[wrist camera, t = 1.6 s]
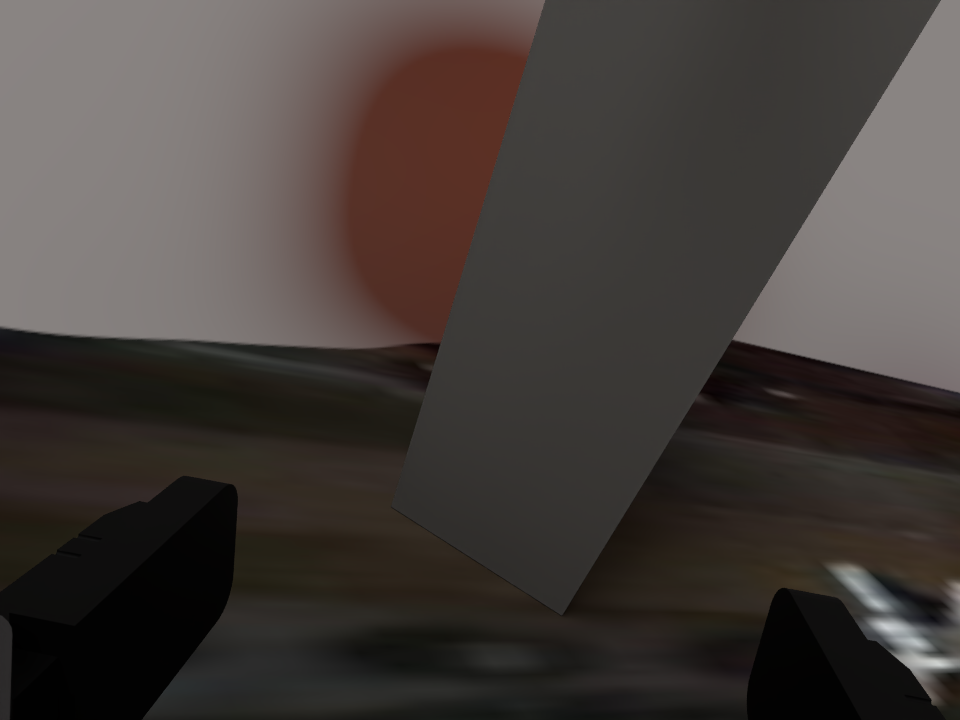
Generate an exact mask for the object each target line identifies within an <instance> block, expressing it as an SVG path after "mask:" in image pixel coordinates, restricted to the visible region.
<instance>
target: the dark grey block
mask: <svg viewBox="0 0 960 720" xmlns="http://www.w3.org/2000/svg"><path fill="white" fill-rule="evenodd" d="M940 1H941V0H545V3H544V7H543V10H542V13H541V17H540V20H539V23H538V26H537V29H536V33H535V36H534V39H533V43H532V46H531V49H530V52H529V56H528V59H527V62H526V66H525V69H524V72H523V76H522V79H521V82H520V86H519V89H518V92H517V95H516V98H515V102H514V105H513V108H512V112H511V115H510V118H509V121H508V125H507V128H506V131H505V135H504V138H503V141H502V144H501V148H500V151H499V154H498V158H497V161H496V164H495V167H494V171H493V174H492V178H491V181H490V184H489V187H488V191H487V194H486V197H485V200H484V204H483V207H482V210H481V213H480V217H479V220H478V223H477V226H476V230H475V233H474V236H473V240H472V243H471V246H470V249H469V253H468V256H467V259H466V262H465V266H464V269H463V273H462V276H461V279H460V282H459V285H458V289H457V292H456V295H455V299H454V302H453V305H452V308H451V312H450V315H449V318H448V322H447V325H446V328H445V332H444V335H443V338H442V341H441V345H440V348H439V351H438V354H437V358H436V361H435V364H434V367H433V371H432V374H431V377H430V381H429V384H428V387H427V390H426V394H425V397H424V400H423V404H422V407H421V410H420V413H419V417H418V420H417V423H416V427H415V430H414V433H413V436H412V440H411V443H410V446H409V450H408V453H407V456H406V459H405V463H404V466H403V469H402V472H401V476H400V479H399V482H398V486H397V489H396V492H395V495H394V499H393V502H392V505H391V507H392V508H394V509H395V510H397V511H399V512H400V513H402V514H403V515H405V516H406V517H408V518H409V519H411V520H413V521H414V522H416V523H417V524H419V525H420V526H422V527H424V528H425V529H427V530H428V531H430V532H431V533H433V534H435V535H436V536H438V537H439V538H441V539H442V540H444V541H446V542H447V543H449V544H450V545H452V546H453V547H455V548H456V549H458V550H460V551H461V552H463V553H464V554H466V555H467V556H469V557H471V558H472V559H474V560H475V561H477V562H478V563H480V564H482V565H483V566H485V567H486V568H488V569H489V570H491V571H493V572H494V573H496V574H497V575H499V576H500V577H502V578H503V579H505V580H507V581H508V582H510V583H511V584H513V585H514V586H516V587H518V588H519V589H521V590H522V591H524V592H525V593H527V594H529V595H530V596H532V597H533V598H535V599H536V600H538V601H540V602H541V603H543V604H544V605H546V606H547V607H549V608H551V609H552V610H554V611H555V612H557V613H558V614H560V615H561V616H562V615H563V613H564V612H565V610H566V608H567V607H568V605H569V603H570V602H571V600H572V599H573V597H574V595H575V594H576V592H577V590H578V589H579V587H580V586H581V584H582V582H583V581H584V579H585V577H586V576H587V574H588V573H589V571H590V569H591V568H592V566H593V565H594V563H595V561H596V560H597V558H598V556H599V555H600V553H601V552H602V550H603V548H604V547H605V545H606V543H607V542H608V540H609V539H610V537H611V535H612V534H613V532H614V530H615V529H616V527H617V526H618V524H619V522H620V521H621V519H622V517H623V516H624V514H625V513H626V511H627V509H628V508H629V506H630V504H631V503H632V501H633V500H634V498H635V496H636V495H637V493H638V491H639V490H640V488H641V487H642V485H643V483H644V482H645V480H646V478H647V477H648V475H649V474H650V472H651V470H652V469H653V467H654V465H655V464H656V462H657V461H658V459H659V457H660V456H661V454H662V452H663V451H664V449H665V448H666V446H667V444H668V443H669V441H670V439H671V438H672V436H673V435H674V433H675V431H676V430H677V428H678V426H679V425H680V423H681V422H682V420H683V418H684V417H685V415H686V413H687V412H688V410H689V409H690V407H691V405H692V404H693V402H694V400H695V399H696V397H697V396H698V394H699V392H700V391H701V389H702V387H703V386H704V384H705V383H706V381H707V379H708V378H709V376H710V374H711V373H712V371H713V370H714V368H715V366H716V365H717V363H718V361H719V360H720V358H721V357H722V355H723V353H724V352H725V350H726V348H727V347H728V345H729V344H730V342H731V340H732V339H733V337H734V335H735V334H736V332H737V331H738V329H739V327H740V326H741V324H742V322H743V321H744V319H745V318H746V316H747V314H748V313H749V311H750V309H751V308H752V306H753V305H754V303H755V301H756V300H757V298H758V296H759V295H760V293H761V292H762V290H763V288H764V287H765V285H766V283H767V282H768V280H769V279H770V277H771V275H772V274H773V272H774V271H775V269H776V267H777V266H778V264H779V262H780V261H781V259H782V257H783V256H784V254H785V252H786V251H787V249H788V248H789V246H790V244H791V243H792V241H793V239H794V238H795V236H796V235H797V233H798V231H799V230H800V228H801V227H802V225H803V223H804V222H805V220H806V218H807V217H808V215H809V214H810V212H811V210H812V209H813V207H814V206H815V204H816V202H817V201H818V199H819V197H820V196H821V194H822V193H823V191H824V189H825V188H826V186H827V184H828V183H829V181H830V180H831V178H832V176H833V175H834V173H835V171H836V170H837V168H838V167H839V165H840V163H841V161H842V160H843V158H844V157H845V155H846V154H847V152H848V150H849V149H850V147H851V145H852V144H853V142H854V141H855V139H856V137H857V136H858V134H859V132H860V131H861V129H862V128H863V126H864V124H865V123H866V121H867V119H868V118H869V116H870V115H871V113H872V111H873V110H874V108H875V106H876V105H877V103H878V102H879V100H880V98H881V97H882V95H883V93H884V92H885V90H886V89H887V87H888V85H889V84H890V82H891V80H892V78H893V77H894V76H895V74H896V72H897V71H898V69H899V67H900V66H901V64H902V62H903V61H904V59H905V58H906V56H907V54H908V53H909V51H910V50H911V48H912V46H913V45H914V43H915V41H916V40H917V38H918V37H919V35H920V33H921V32H922V30H923V28H924V27H925V25H926V24H927V22H928V20H929V19H930V17H931V15H932V14H933V12H934V11H935V9H936V7H937V6H938V4H939V2H940Z"/></svg>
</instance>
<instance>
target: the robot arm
mask: <svg viewBox="0 0 960 720" xmlns="http://www.w3.org/2000/svg"><path fill="white" fill-rule="evenodd" d="M237 506H238V496H237V490H236V488H235V486H234V485H232V484H227V483H221V482H216V481H211V480H205V479H200V478H194V477H189V476H182V477H180V478H178V479H177V480H176V481H175V482H173V483H172V484H171V485H169V486H168V487H167V488H166V489H164V490H163V491H162V492H161V493H159V494H158V495H157V496H156V497H154V498H153V499H152V500H151V501H149V502H148V503H146V502H141V501H139V502H136V503H134V504H131V505H128V506H126V507H123V508H121V509H118V510H116V511H113V512H110V513H108V514H105V515H103V516H102V517H101V518H99V519H98V520H97V521H95V522H94V523H93V524H91V525H90V526H89V527H87V528H86V529H85V530H83V531H82V532H81V533H79V536H78V538H73V539H71V540H70V541H68V542H67V543H66V544H64V545H63V546H62V547H60V548H59V549H58V550H57V553H56V555H54V554H51V555H50V556H48V557H47V558H46V559H44V560H43V561H42V562H40V563H39V564H38V565H36V566H35V567H34V568H32V569H31V570H29V571H28V572H27V573H25V574H24V575H23V576H21V577H20V578H19V579H17V580H16V581H15V582H13V583H12V584H11V585H9V586H8V587H7V588H5V589H4V590H3V591H1V592H0V720H142V719H143V717H144V716H145V715H146V713H147V712H148V711H149V709H150V708H151V707H152V706H153V704H154V703H155V702H156V700H157V699H158V698H159V696H160V695H161V694H162V693H163V691H164V690H165V689H166V687H167V686H168V685H169V683H170V682H171V681H172V680H173V678H174V677H175V676H176V674H177V673H178V672H179V670H180V669H181V668H182V667H183V665H184V664H185V663H186V661H187V660H188V659H189V657H190V656H191V655H192V654H193V652H194V651H195V650H196V648H197V647H198V646H199V644H200V643H201V642H202V641H203V639H204V638H205V637H206V635H207V634H208V633H209V631H210V630H211V629H212V627H213V626H214V625H215V624H216V622H217V621H218V619H219V618H220V616H221V614H222V613H223V610H224V608H225V606H226V604H227V601H228V598H229V595H230V591H231V587H232V581H233V572H234V555H235V539H236V522H237ZM747 714H748V720H946V719H945V718H944V717H943V715H942V714H941V712H940V711H939V710H938V708H937V707H936V706H933V705H932V704H931V698H930V697H929V696H928V694H927V693H926V691H925V690H924V689H923V687H922V686H921V684H920V683H919V682H918V680H917V679H916V677H915V676H914V675H913V673H912V672H911V670H910V669H909V668H907V667H906V666H905V665H904V664H903V663H901V662H900V661H899V660H898V659H897V658H895V657H894V656H893V655H892V654H891V653H889V652H888V651H887V650H886V649H885V648H884V647H882V646H881V645H880V644H879V643H878V642H876V641H871V640H867V638H866V637H865V635H864V634H863V632H862V631H861V629H860V628H859V626H858V625H857V623H856V622H855V620H854V619H853V617H852V616H851V614H850V613H849V612H848V610H847V609H846V607H845V606H844V604H843V603H842V602H841V600H839V599H838V598H835V597H830V596H825V595H820V594H814V593H809V592H803V591H798V590H793V589H787V588H781V589H779V590H778V591H777V592H776V594H775V595H774V598H773V600H772V603H771V606H770V609H769V613H768V616H767V620H766V623H765V627H764V630H763V633H762V637H761V640H760V644H759V647H758V651H757V654H756V658H755V661H754V665H753V668H752V671H751V675H750V679H749V683H748V691H747Z"/></svg>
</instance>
